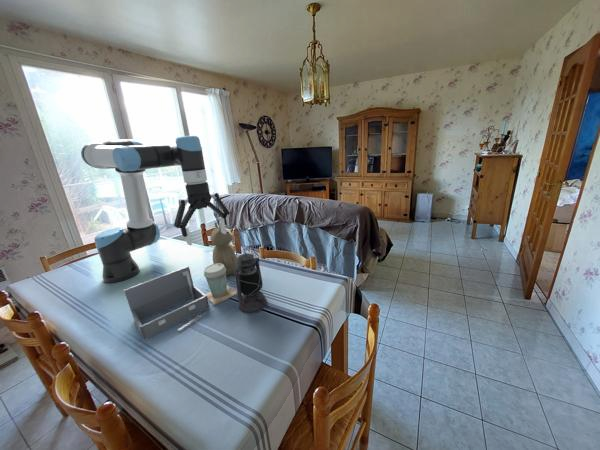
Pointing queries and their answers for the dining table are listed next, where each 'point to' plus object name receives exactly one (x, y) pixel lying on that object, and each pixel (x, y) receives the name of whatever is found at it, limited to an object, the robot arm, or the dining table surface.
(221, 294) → the coffee cup
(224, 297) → the cork pad
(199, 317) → the bar
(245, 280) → the lantern
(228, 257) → the bear
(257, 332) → the dining table surface
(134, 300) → the case
